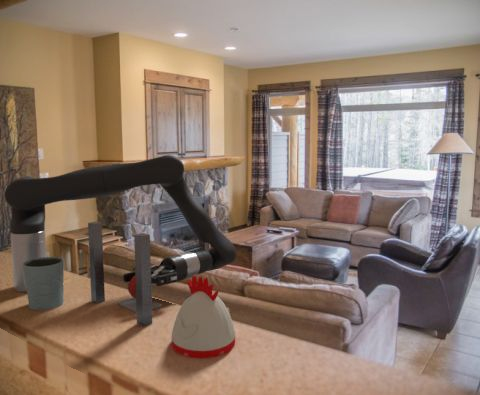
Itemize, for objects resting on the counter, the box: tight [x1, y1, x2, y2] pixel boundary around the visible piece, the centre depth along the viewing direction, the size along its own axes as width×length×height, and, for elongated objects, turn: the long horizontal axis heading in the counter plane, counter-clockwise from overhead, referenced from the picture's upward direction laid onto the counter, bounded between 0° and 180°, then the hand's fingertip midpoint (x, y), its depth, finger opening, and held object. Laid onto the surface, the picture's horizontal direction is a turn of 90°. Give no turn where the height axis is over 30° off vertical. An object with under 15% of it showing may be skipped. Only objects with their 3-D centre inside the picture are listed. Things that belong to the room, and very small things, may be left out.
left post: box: [87, 221, 106, 304], centre depth 121 cm, size 3×3×22 cm
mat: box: [117, 296, 162, 314], centre depth 119 cm, size 10×7×1 cm
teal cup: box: [23, 256, 65, 311], centre depth 119 cm, size 10×10×12 cm
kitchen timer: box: [171, 275, 236, 359], centre depth 97 cm, size 14×14×15 cm
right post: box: [133, 232, 153, 328], centre depth 106 cm, size 3×3×22 cm
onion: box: [127, 276, 136, 298], centre depth 119 cm, size 6×6×8 cm
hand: (130, 281), depth 117 cm, fingers closed on onion, 5 cm apart
